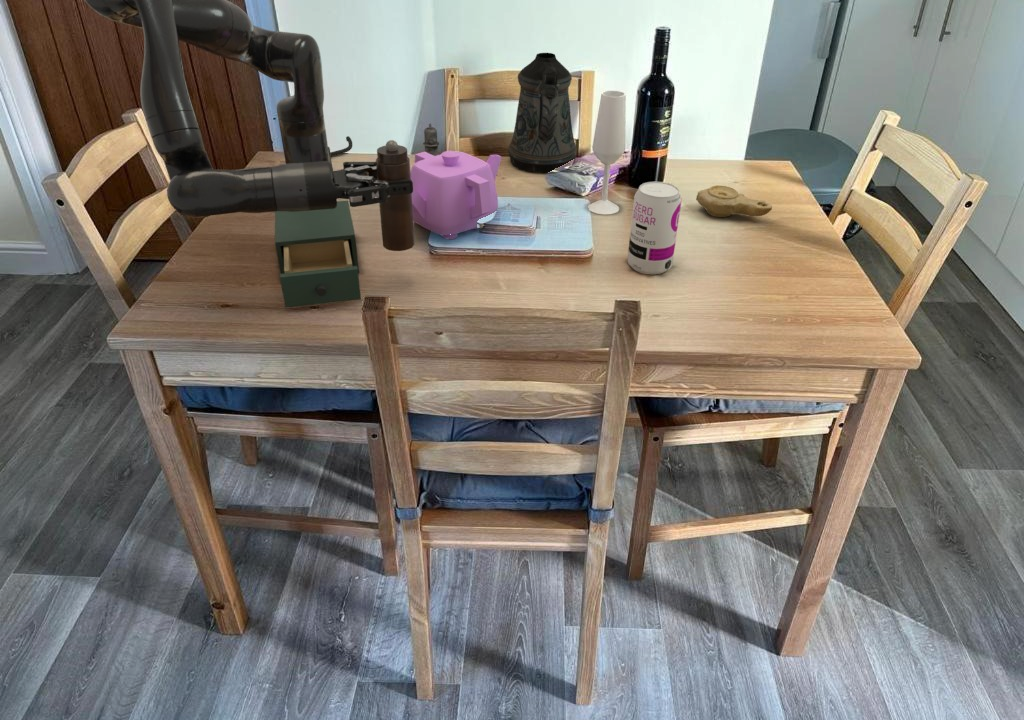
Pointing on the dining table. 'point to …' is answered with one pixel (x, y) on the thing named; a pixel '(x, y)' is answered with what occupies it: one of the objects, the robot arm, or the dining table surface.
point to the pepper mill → (395, 198)
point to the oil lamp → (730, 202)
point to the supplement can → (654, 227)
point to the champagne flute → (609, 142)
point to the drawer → (319, 274)
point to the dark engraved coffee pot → (543, 117)
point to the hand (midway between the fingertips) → (409, 179)
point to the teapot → (453, 191)
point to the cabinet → (315, 229)
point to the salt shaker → (431, 140)
